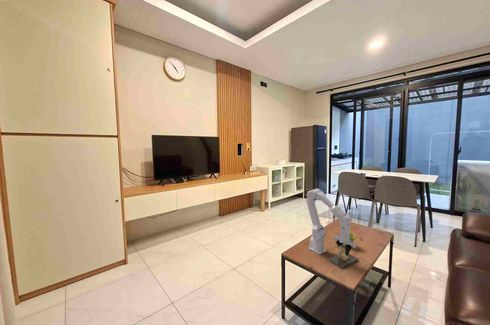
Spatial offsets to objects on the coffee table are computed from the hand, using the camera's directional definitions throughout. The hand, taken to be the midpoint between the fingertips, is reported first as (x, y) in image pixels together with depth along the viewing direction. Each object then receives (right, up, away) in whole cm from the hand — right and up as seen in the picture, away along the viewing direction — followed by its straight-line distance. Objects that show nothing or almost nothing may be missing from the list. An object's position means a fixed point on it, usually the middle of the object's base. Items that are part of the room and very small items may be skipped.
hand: (343, 253), depth 134 cm
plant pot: (+12, -3, +20) cm, 23 cm away
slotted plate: (0, -5, +1) cm, 5 cm away
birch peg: (0, -3, 0) cm, 3 cm away
